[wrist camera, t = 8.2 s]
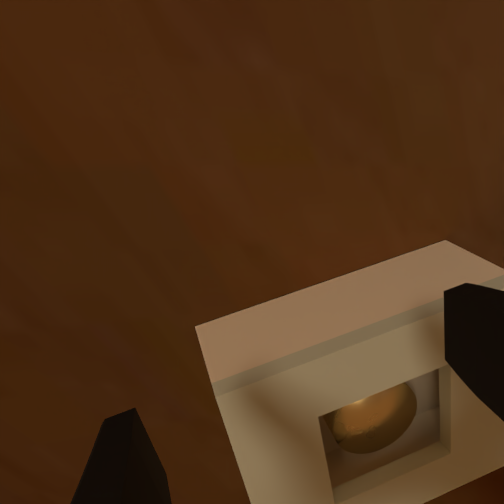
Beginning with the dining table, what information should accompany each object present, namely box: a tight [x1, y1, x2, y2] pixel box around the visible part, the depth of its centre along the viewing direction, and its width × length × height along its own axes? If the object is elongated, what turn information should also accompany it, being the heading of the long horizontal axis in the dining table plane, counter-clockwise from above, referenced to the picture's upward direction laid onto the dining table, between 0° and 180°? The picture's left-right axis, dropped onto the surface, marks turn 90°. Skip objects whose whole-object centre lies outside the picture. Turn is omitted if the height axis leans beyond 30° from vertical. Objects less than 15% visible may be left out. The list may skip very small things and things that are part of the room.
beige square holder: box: [195, 240, 504, 504], centre depth 22 cm, size 14×12×5 cm
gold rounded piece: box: [322, 382, 417, 454], centre depth 22 cm, size 4×4×3 cm
